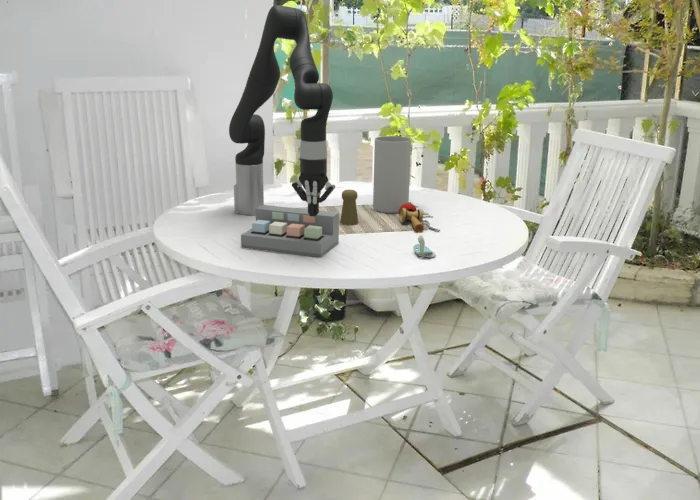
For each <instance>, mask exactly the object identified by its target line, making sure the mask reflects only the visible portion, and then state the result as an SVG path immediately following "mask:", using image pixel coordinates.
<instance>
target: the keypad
mask: <svg viewBox="0 0 700 500" xmlns="http://www.w3.org/2000/svg"><path fill="white" fill-rule="evenodd" d="M254 216H255V221H257V220H265V221H270V224H272V223H273V222H283V223H287V226H289V225H290V224H301V225H305V228H306V227H308V226H309V225H311V226H320V227H322V236H320V240H319V241H312V240H306V237H304V234H303V237H302V238H301V239H295V238H289V235H287V232H286V235H285V236H283V237H278V236H271V233H267V234H266V235H261V234H254V231H252V228H250V229H248V230H247V231H244V232H243V233H242V234H241V233H240V247H241V249H248V250H249V249H250V250H256V251H264V252H266V251H267V252H272V253H273V252H274V253H281V254H288V255H296V256H298V255H299V256H304V257H306V256H307V257H312V258H319V259H320V258H322V257H324V255H326V254H327V253H328V252H330V250H332V249H333V248H335V246H337V245H338V244H339V242H340V241H339V239H340V238H339V237H340V236H339V232H340V230H339V229H340V227H339V226H340V212H337V211H327V210H326V211H325V210H319V213H318V214H317V216H315V217H313V216H310V214H308V208H297V207H288V206H279V205H268V204H264V205H261V206H259V207H257V208H255V215H254Z"/></svg>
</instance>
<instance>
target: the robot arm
mask: <svg viewBox="0 0 700 500" xmlns="http://www.w3.org/2000/svg"><path fill="white" fill-rule="evenodd" d="M277 39H283V40H289V41H294V42H295V43H296V45H295V47H294V49H293V50H292V52H291V54H290V57H289V68H290V70H291V74H292V77H293V79H294V80H293V81H294V93H293V95H294V96H293V97H294V98H293V100H294V104H295V105H296V107H297V108H298V109H300V110H303V111H308V110H309V111H310V110H311V111H312V110H313V111H314V110H316V113H315V114H314V115H313V116H309V117H307V118H304V119H302V120H301V122H300V145H299V160H300V161H299V173H300V174H299V176H298V179H297V180H296V181H295V182H292V184H291V187H292V188H293V189H294V191H295V193H296V194H297V195H298V196H299V198H300V200H301V201H302V202H305V203H307V209H308V214H310V216H313V217H315V216H317V214H318V213H319V211H320V203H323V202H324V201H326V200H327V199H328V197H329V196H330V195H331V194H332V192H333V191H334V190H335V188H336V185H335V184H332V183H331V182H330V181H329V178H328V175H327V173H328V149H327V148H328V146H327V145H328V144H327V123H328V119H329V118H328V117H329V114H330V110H331V108H332V107H331V106H332V103H333V97H334V93H333V89H332V88H331V86H330V85H329V84H328V83H324V82H323V83H321V82H319V81H320V73H319V71H318V68H317V65H316V63H315V60H314V57H313V53H312V48H311V47H312V46H311V40H310V33H309V28H308V20H307V17H306V14H305V12H304V11H303V10H302V9H300V8H297V7H296V8H295V7H292V6H287V5H280V4H279V5H278V4H276V5H274V4H273V5H272V6H271V8H270V9H269V10H268V13H267V15H266V19H265V23H264V26H263V30H262V34H261V38H260V42H259V46H258V48H257V53H256V55H255V57H254V61H253V63H252V65H251V68H250V71H249V74H248V76H247V80H246V83H245V87H244V89H243V93H242V95H241V98H240V100H239V102H238V105H237V106H236V108H235V110H234V113H233V115H232V117H231V118H230V119H231V120H230V122H229V127H228V134H229V138H230V140H231V141H232V142H233V143H235V144H247V145H246V147H244V149H242V150H241V151H239V152H238V153H236V154H235V157H234V158H235V159H234V160H235V162H234V163H235V184H234V185H233V200H234V201H233V204H234V208H233V209H234V213H235V214H236V213H237V214H240V215H243V216H244V215H245V216H255V208H257V207H259V206H261V205H265V204H264V203H265V201H264V200H265V197H264V196H265V195H264V156H265V142H266V141H265V140H266V127H265V123H264V120H263V118H262V116H261V115H260V114H255V113H256V112H257V111H258V110H259V109H260V108H261V107H262V106H264V104H265V103H266V102H268V100H269V99H271V97H272V96H273V95H274V93H275V91H276V88H277V86H278V83H279V81H280V77H281V68H280V66H279V62H278V60H277V57H276V53H275V48H274V47H275V43H276V40H277ZM318 82H319V83H318ZM323 189H325V191H324V192H323V193H322V190H323Z"/></svg>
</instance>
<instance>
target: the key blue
mask: <svg viewBox="0 0 700 500" xmlns="http://www.w3.org/2000/svg"><path fill="white" fill-rule="evenodd" d="M269 225H270V221H265V220H257V221H256V220H255V221H253V222H252V223H251V229H252V231H254V234H261V235H266V234H267V233H269Z"/></svg>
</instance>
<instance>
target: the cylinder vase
mask: <svg viewBox="0 0 700 500" xmlns="http://www.w3.org/2000/svg"><path fill="white" fill-rule="evenodd" d="M373 151H374V155H373V156H374V157H373V161H374V162H373V191H372V193H373V196H372V197H373V198H372V208H373V210H374V211H376V212H378V213H381V214H382V213H383V214H399V208H400V206H401V205H402V204H404V203H410V202H409V201H410V199H409V198H410V181H411V179H410V178H411V177H410V176H411V175H410V174H411V173H410V172H411V156H412V155H411V154H412V153H411V151H412V139H411V138H409V137H407V136H399V135H398V136H397V135H394V136H393V135H385V136H383V135H381V136H377V137H374V150H373Z"/></svg>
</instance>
